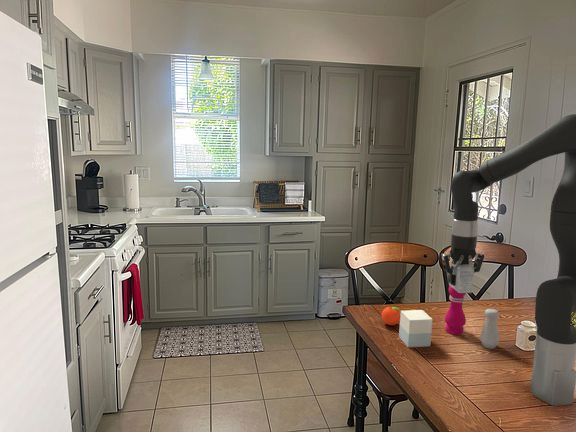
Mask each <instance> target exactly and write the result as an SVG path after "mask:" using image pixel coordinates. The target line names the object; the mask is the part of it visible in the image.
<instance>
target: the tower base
mask: <svg viewBox="0 0 576 432" xmlns="http://www.w3.org/2000/svg"><path fill="white" fill-rule="evenodd" d="M398 337H399V338H400V339H401V341H402V342H403V343H404V345H405V346H406V347H407V348H419V347H431V344H432V343H431V341H432V333H422V334H408V332H407V331H406V330H405V329H404V328H403V327H402V326H401V325H400V324H399V331H398Z"/></svg>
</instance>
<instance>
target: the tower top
mask: <svg viewBox="0 0 576 432" xmlns="http://www.w3.org/2000/svg"><path fill="white" fill-rule="evenodd" d="M400 325H401V326H402V327H403V328H404V329H405V330H406V331H407V332H408V334H422V333H431V334H432V333H433V318H432V317H430V316H429V315H428V313H426V312H425V310H423V309H413V310H412V309H411V310H410V309H409V310H408V309H407V310H400V320H399V326H400Z"/></svg>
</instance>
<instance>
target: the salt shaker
mask: <svg viewBox="0 0 576 432" xmlns="http://www.w3.org/2000/svg"><path fill="white" fill-rule="evenodd" d="M484 316H485V321H484V322H483V323H484V324H483V328H482V330H481V332H480V335H479V339H480V342H481V345H482V347H484V348H486V349H489V350H490V349H492V350H494V349H495V348H496V347H497V346H498V344H499V343H500V337H499V329H498V320H497V319H498V318H499V316H500V313H499V311H498V310H497V309H494V308H487V309H485V310H484Z"/></svg>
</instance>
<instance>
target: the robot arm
mask: <svg viewBox="0 0 576 432" xmlns="http://www.w3.org/2000/svg"><path fill="white" fill-rule="evenodd" d="M563 153H564V167H563V173H562V175H561V178H560V181H559V183H558V186H557V188H556V191H555V193H554V195H553V198H552V200H551V204H550V205H551V206H550V216H549V232H550V235H551V238H552V240H553V242H554V245H555V247H556V251H557V253H558V260H559V261H558V271H557V277H556V278H552V279H548V280H545V281H543V282H541V283H540V285H539V286H538V288H537V291H536V293H535V294H536V295H535V305H534V306H535V307H534V308H535V310H534V320H535V325H536V336H535V345H534V354H533V362H532V369H531V370H532V371H531V378H530V379H531V380H530V388H529V389H530V392H531V394H532V395H534V397H536V398H537V399H539V400H541V401H543V402H545V403H548V404H550V405H551V406H563V405H564V406H565V405H573V404H574V397H575V391H576V390H575V389H576V369H575V364H576V327H575V326H573V325H572V314H573V313H576V114H569V115H566V116H564V117H562V118H560V119H559V120H556V121H555V122H554V123H553V124H551V125H550V126H548V127H547V128H545V129H544V130H542V131H541V132H539V133H538V134H536V135H535V136H533V137H531V138H530V139H528V140H526V141H524V142H522V143H520V144H519V145H517V146H514V147H512V148H511V149H508V150H506V151H504V152H502V153H500V154H498V155H496V156H493V157H492V158H489V159H487V160H485V161H483V162H482V164H481V166H480V167H477V168H475V169H471V170H460V171H457V172H456V173H455V174H454V175H453V177H452V178H451V182H450V189H451V196H452V201H453V205H454V208H453V220H452V223H451V224H452V226H451V236H450V238H451V239H450V251H449V252H448V253H441V254H440V258H441V263H442V268H443V271H444V272H446V273H447V274H449V275H448V284H449V283H450V284H451V285H453V286H455V284H456V275H455V274H456V272H457V268H458V266H460V265H463V264H469V265H471V266H472V267H473V275H474V274H475V273H479V272H480V271H481V268H482V265H483V262H484V259H485V254H484V253H480V252H477V251H476V249H477V243H478V230H479V225H478V219H479V204H478V202H477V201H474V200H473V193H478V192H482V191H483V190H485V189H487V188H488V187H490V186H492V185H494V184H495V183H498V182H500V181H504V180H505V179H507V178H510V177H513V176H514V175H517V174H519V173H520V172H522V171H524V170H525V169H527V168H529V167H530V166H531V165H533V164H535V163H537V162H539V161H542V160H544V159H546V158H549V157H552V156H556V155H557V156H558V155H560V154H563ZM450 260H451V261H450ZM473 261H474V262H473ZM450 263H451V264H450ZM455 263H456V265H455ZM450 265H451V266H450Z"/></svg>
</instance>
